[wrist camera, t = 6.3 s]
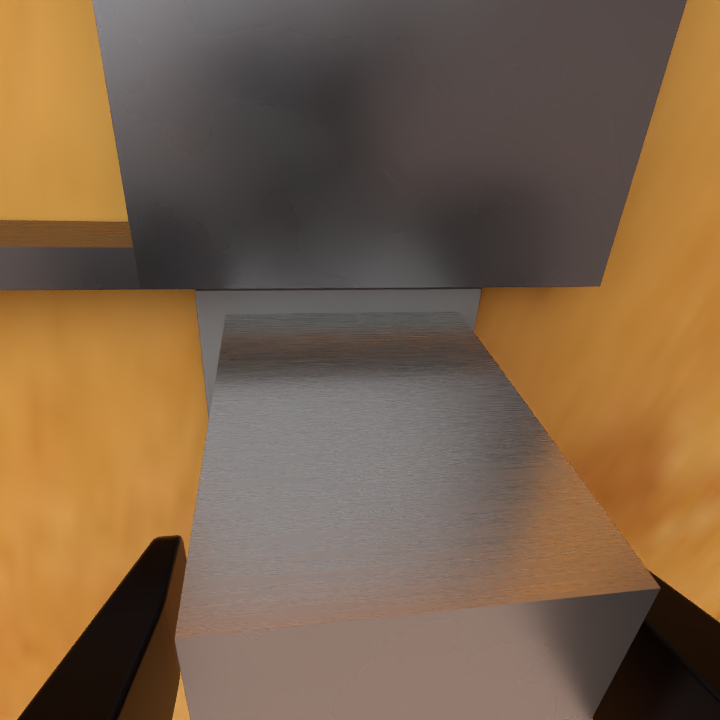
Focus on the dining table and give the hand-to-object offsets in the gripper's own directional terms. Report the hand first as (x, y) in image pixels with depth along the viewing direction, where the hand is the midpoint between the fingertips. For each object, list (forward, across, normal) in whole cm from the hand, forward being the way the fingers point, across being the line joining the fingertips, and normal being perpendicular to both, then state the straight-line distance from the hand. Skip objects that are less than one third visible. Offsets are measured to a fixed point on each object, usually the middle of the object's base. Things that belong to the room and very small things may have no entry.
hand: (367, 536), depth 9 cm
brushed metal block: (+4, 0, 0) cm, 4 cm away
